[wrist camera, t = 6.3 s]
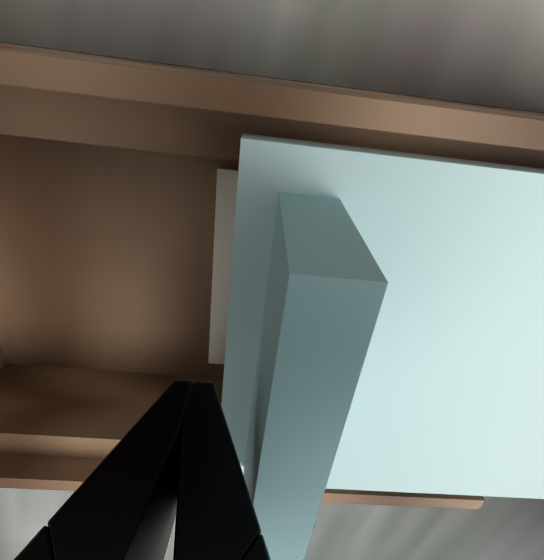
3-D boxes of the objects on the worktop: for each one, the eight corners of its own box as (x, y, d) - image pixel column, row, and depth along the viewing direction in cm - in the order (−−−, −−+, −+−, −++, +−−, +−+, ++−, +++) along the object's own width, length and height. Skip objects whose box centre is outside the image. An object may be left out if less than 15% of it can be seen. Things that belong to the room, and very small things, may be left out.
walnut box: (5, 376, 16) (-83, 484, 12) (-99, 29, 10) (-346, 6, 6) (428, 404, 17) (479, 509, 13) (556, 115, 11) (718, 143, 7)
